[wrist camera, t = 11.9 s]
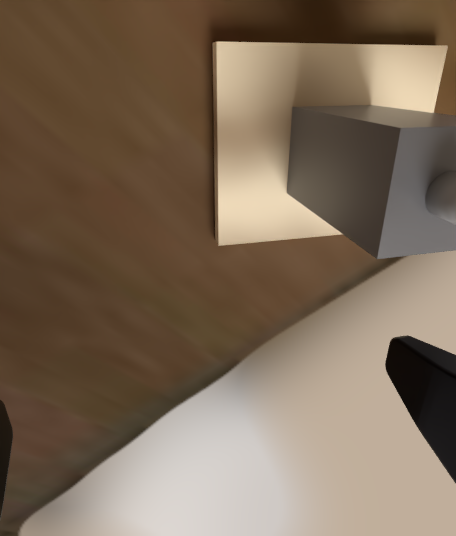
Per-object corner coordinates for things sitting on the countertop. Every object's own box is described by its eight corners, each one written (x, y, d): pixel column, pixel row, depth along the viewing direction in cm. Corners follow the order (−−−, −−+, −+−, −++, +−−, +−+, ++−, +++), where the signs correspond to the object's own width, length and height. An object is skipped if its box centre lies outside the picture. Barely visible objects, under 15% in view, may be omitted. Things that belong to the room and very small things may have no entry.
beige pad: (400, 223, 23) (408, 227, 22) (215, 239, 21) (218, 245, 20) (435, 46, 19) (447, 45, 18) (212, 42, 17) (216, 41, 16)
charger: (359, 188, 21) (522, 267, 12) (286, 193, 20) (408, 281, 11) (371, 105, 19) (572, 130, 10) (292, 106, 18) (441, 136, 10)
